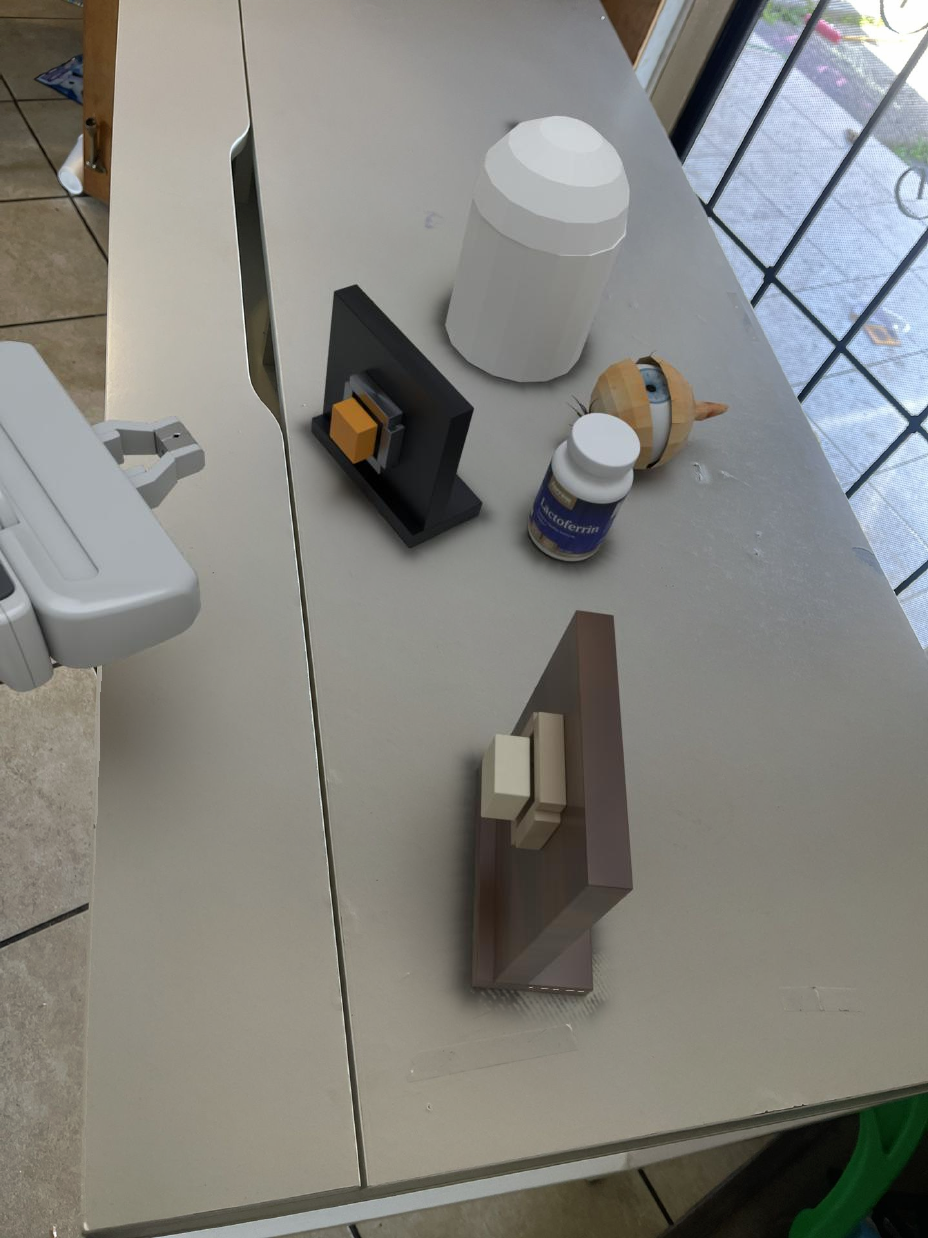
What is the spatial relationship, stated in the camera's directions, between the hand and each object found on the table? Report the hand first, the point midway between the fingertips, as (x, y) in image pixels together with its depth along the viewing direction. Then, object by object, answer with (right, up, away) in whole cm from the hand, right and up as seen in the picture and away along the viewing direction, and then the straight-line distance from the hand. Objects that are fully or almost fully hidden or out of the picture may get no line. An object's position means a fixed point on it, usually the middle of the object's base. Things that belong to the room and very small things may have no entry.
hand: (192, 441), depth 52 cm
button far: (+7, +3, +17) cm, 18 cm away
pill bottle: (+23, -3, +23) cm, 33 cm away
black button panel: (+9, +2, +23) cm, 25 cm away
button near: (+17, -19, -4) cm, 26 cm away
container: (+20, +17, +36) cm, 45 cm away
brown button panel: (+19, -26, +7) cm, 33 cm away
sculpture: (+30, +5, +30) cm, 43 cm away
